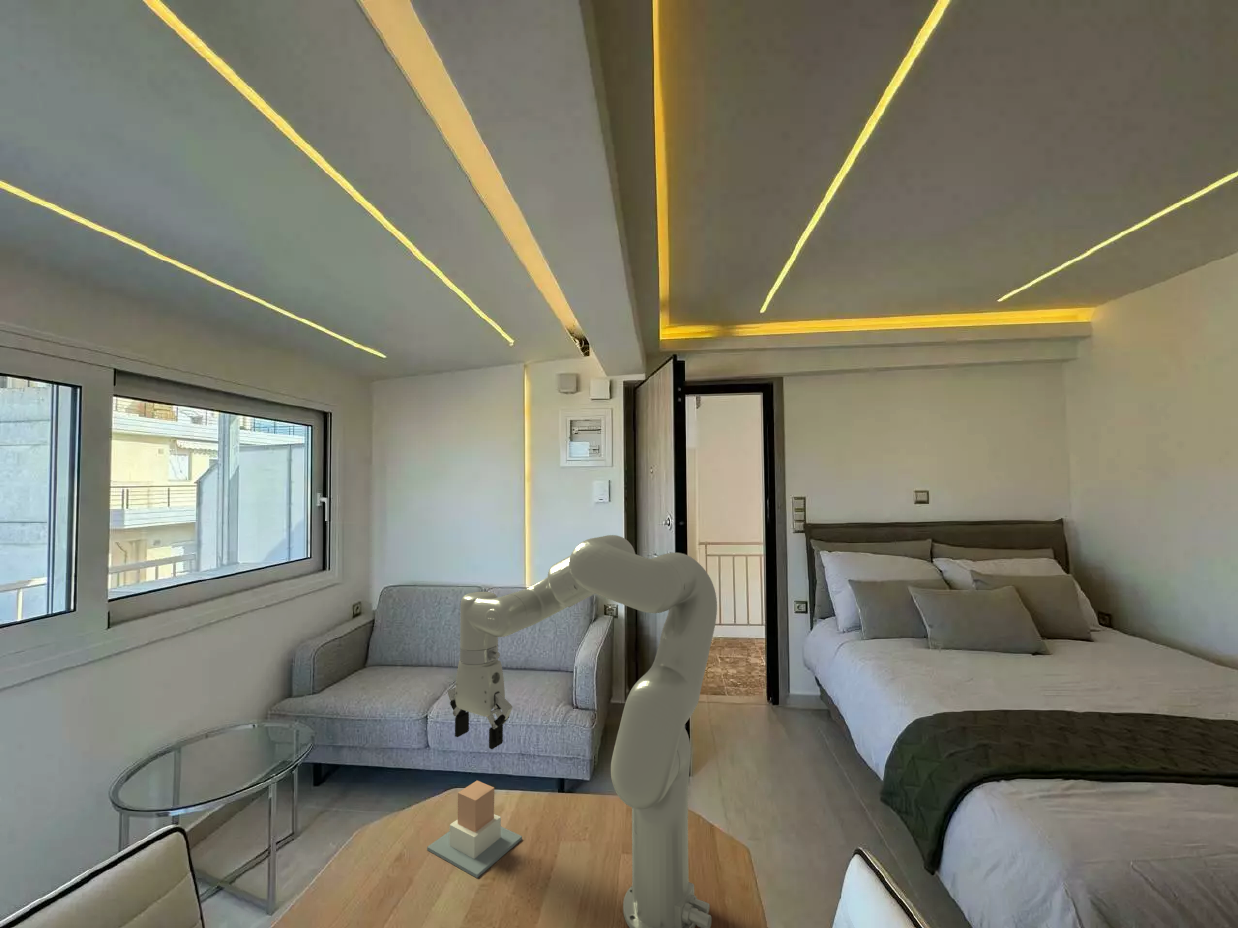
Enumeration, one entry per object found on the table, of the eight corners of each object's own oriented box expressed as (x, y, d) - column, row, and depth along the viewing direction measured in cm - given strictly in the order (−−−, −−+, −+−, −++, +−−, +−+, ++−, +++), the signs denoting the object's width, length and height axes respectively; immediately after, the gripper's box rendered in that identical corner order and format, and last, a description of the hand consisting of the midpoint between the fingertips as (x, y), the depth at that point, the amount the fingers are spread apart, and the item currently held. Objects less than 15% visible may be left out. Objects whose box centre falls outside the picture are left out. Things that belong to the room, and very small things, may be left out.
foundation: (521, 839, 102) (522, 815, 102) (477, 877, 91) (477, 851, 92) (473, 816, 109) (474, 794, 109) (427, 849, 99) (427, 825, 99)
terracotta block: (494, 818, 101) (494, 787, 102) (475, 832, 97) (475, 800, 97) (476, 810, 104) (477, 780, 104) (457, 823, 100) (458, 792, 100)
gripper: (523, 655, 101) (523, 742, 100) (464, 643, 110) (463, 723, 109) (496, 666, 95) (496, 759, 94) (435, 652, 104) (434, 737, 103)
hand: (478, 739), depth 101 cm, fingers open, 9 cm apart
